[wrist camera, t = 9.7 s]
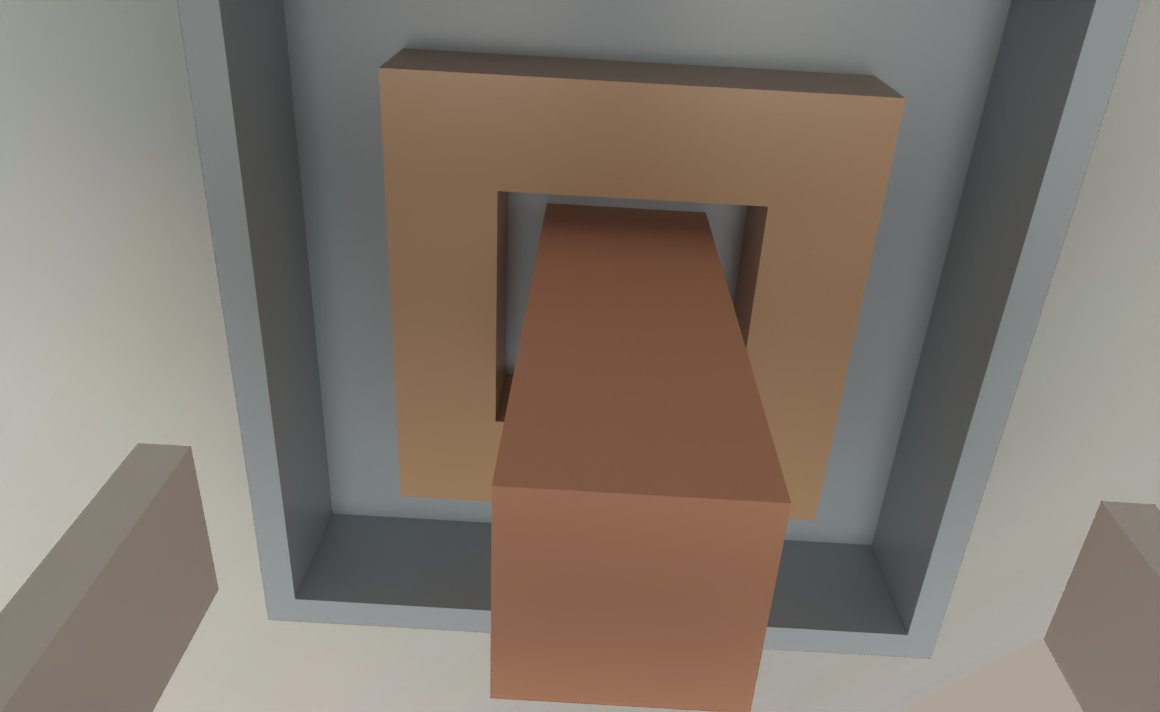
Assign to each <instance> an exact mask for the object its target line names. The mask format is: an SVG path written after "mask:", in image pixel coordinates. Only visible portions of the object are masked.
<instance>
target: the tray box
mask: <svg viewBox="0 0 1160 712" xmlns="http://www.w3.org/2000/svg"><path fill="white" fill-rule="evenodd" d="M177 2H178V9H179V16H180V23H181V30H182V36H183V43H184V50H185V57H186V63H187V70H188V77H189V84H190V91H191V97H192V104H193V111H194V118H195V125H196V131H197V138H198V145H199V152H200V159H201V165H202V172H203V179H204V186H205V193H206V199H207V206H208V213H209V220H210V227H211V233H212V240H213V247H214V254H215V261H216V267H217V274H218V281H219V288H220V295H221V301H222V308H223V315H224V322H225V328H226V335H227V342H228V349H229V356H230V362H231V369H232V376H233V383H234V390H235V396H236V403H237V410H238V417H239V424H240V430H241V437H242V444H243V451H244V458H245V464H246V471H247V478H248V485H249V492H250V498H251V505H252V512H253V519H254V526H255V532H256V539H257V546H258V553H259V560H260V566H261V573H262V580H263V587H264V593H265V600H266V607H267V614H268V620H280V621H297V622H314V623H331V624H348V625H365V626H382V627H399V628H416V629H433V630H450V631H467V632H484V633H491V522H492V482H493V477H494V472H495V467H496V461H497V456H498V451H499V446H500V441H501V436H502V431H503V425H504V420H505V415H506V410H507V405H508V400H509V395H510V389H511V384H512V379H513V374H514V369H515V364H516V359H517V353H518V348H519V343H520V338H521V333H522V328H523V323H524V318H525V312H526V307H527V302H528V297H529V292H530V287H531V282H532V276H533V271H534V266H535V261H536V256H537V251H538V246H539V240H540V235H541V230H542V225H543V220H544V215H545V210H546V204H547V203H553V204H570V205H588V206H605V207H622V208H639V209H657V210H674V211H691V212H706V215H707V218H708V221H709V225H710V228H711V232H712V235H713V238H714V242H715V245H716V249H717V252H718V255H719V259H720V262H721V266H722V269H723V272H724V276H725V279H726V283H727V286H728V289H729V293H730V296H731V300H732V303H733V306H734V310H735V313H736V317H737V320H738V323H739V327H740V330H741V334H742V337H743V340H744V344H745V347H746V351H747V354H748V357H749V361H750V364H751V368H752V371H753V374H754V378H755V381H756V385H757V388H758V391H759V395H760V398H761V402H762V405H763V408H764V412H765V415H766V419H767V422H768V425H769V429H770V432H771V436H772V439H773V442H774V446H775V449H776V453H777V456H778V459H779V463H780V466H781V470H782V473H783V476H784V480H785V483H786V487H787V490H788V493H789V497H790V500H791V508H790V513H789V518H788V523H787V528H786V533H785V538H784V543H783V549H782V554H781V559H780V564H779V569H778V574H777V579H776V584H775V589H774V594H773V599H772V604H771V609H770V614H769V619H768V624H767V629H766V635H765V640H764V645H763V649H773V650H790V651H807V652H824V653H841V654H858V655H875V656H892V657H909V658H926V659H931V656H932V653H933V650H934V647H935V644H936V641H937V637H938V634H939V631H940V628H941V625H942V622H943V619H944V615H945V612H946V609H947V606H948V603H949V600H950V597H951V593H952V590H953V587H954V584H955V581H956V578H957V575H958V571H959V568H960V565H961V562H962V559H963V556H964V553H965V549H966V546H967V543H968V540H969V537H970V534H971V531H972V527H973V524H974V521H975V518H976V515H977V512H978V509H979V505H980V502H981V499H982V496H983V493H984V490H985V487H986V483H987V480H988V477H989V474H990V471H991V468H992V465H993V462H994V458H995V455H996V452H997V449H998V446H999V443H1000V440H1001V436H1002V433H1003V430H1004V427H1005V424H1006V421H1007V418H1008V414H1009V411H1010V408H1011V405H1012V402H1013V399H1014V396H1015V392H1016V389H1017V386H1018V383H1019V380H1020V377H1021V374H1022V370H1023V367H1024V364H1025V361H1026V358H1027V355H1028V352H1029V348H1030V345H1031V342H1032V339H1033V336H1034V333H1035V330H1036V326H1037V323H1038V320H1039V317H1040V314H1041V311H1042V308H1043V304H1044V301H1045V298H1046V295H1047V292H1048V289H1049V286H1050V282H1051V279H1052V276H1053V273H1054V270H1055V267H1056V264H1057V260H1058V257H1059V254H1060V251H1061V248H1062V245H1063V242H1064V238H1065V235H1066V232H1067V229H1068V226H1069V223H1070V220H1071V216H1072V213H1073V210H1074V207H1075V204H1076V201H1077V198H1078V194H1079V191H1080V188H1081V185H1082V182H1083V179H1084V176H1085V173H1086V169H1087V166H1088V163H1089V160H1090V157H1091V154H1092V151H1093V147H1094V144H1095V141H1096V138H1097V135H1098V132H1099V129H1100V125H1101V122H1102V119H1103V116H1104V113H1105V110H1106V107H1107V103H1108V100H1109V97H1110V94H1111V91H1112V88H1113V85H1114V81H1115V78H1116V75H1117V72H1118V69H1119V66H1120V63H1121V59H1122V56H1123V53H1124V50H1125V47H1126V44H1127V41H1128V37H1129V34H1130V31H1131V28H1132V25H1133V22H1134V19H1135V15H1136V12H1137V9H1138V6H1139V3H1140V0H177Z"/></svg>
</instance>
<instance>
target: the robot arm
mask: <svg viewBox="0 0 1160 712" xmlns="http://www.w3.org/2000/svg"><path fill="white" fill-rule="evenodd" d="M217 591H218V584H217V579H216V574H215V569H214V563H213V558H212V553H211V548H210V543H209V538H208V532H207V527H206V522H205V517H204V512H203V507H202V501H201V496H200V491H199V486H198V481H197V475H196V470H195V465H194V460H193V455H192V450H191V446H176V445H160V444H143V443H138V444H137V445H136V446H135V447H134V449H133V450H132V451H131V452H130V454H129V455H128V456H127V457H126V459H125V460H124V461H123V462H122V464H121V465H120V466H119V467H118V468H117V470H116V471H115V472H114V473H113V475H112V476H111V477H110V478H109V480H108V481H107V482H106V483H105V484H104V486H103V487H102V488H101V489H100V491H99V492H98V493H97V494H96V496H95V497H94V498H93V499H92V500H91V502H90V503H89V504H88V505H87V507H86V508H85V509H84V510H83V512H82V513H81V514H80V515H79V517H78V518H77V519H76V520H75V521H74V523H73V524H72V525H71V526H70V528H69V529H68V530H67V531H66V533H65V534H64V535H63V536H62V537H61V539H60V540H59V541H58V542H57V544H56V545H55V546H54V547H53V549H52V550H51V551H50V552H49V553H48V555H47V556H46V557H45V558H44V560H43V561H42V562H41V563H40V565H39V566H38V567H37V568H36V570H35V571H34V572H33V573H32V574H31V576H30V577H29V578H28V579H27V581H26V582H25V583H24V584H23V586H22V587H21V588H20V589H19V590H18V592H17V593H16V594H15V595H14V597H13V598H12V599H11V600H10V602H9V603H8V604H7V605H6V607H5V608H4V609H3V610H2V611H1V613H0V712H153V710H154V708H155V706H156V704H157V702H158V700H159V699H160V697H161V695H162V693H163V691H164V689H165V687H166V686H167V684H168V682H169V680H170V678H171V676H172V674H173V673H174V671H175V669H176V667H177V665H178V663H179V662H180V660H181V658H182V656H183V654H184V652H185V650H186V649H187V647H188V645H189V643H190V641H191V639H192V637H193V636H194V634H195V632H196V630H197V628H198V626H199V624H200V623H201V621H202V619H203V617H204V615H205V613H206V611H207V610H208V608H209V606H210V604H211V602H212V600H213V598H214V597H215V595H216V593H217ZM1044 641H1045V643H1046V644H1047V646H1048V648H1049V650H1050V651H1051V653H1052V655H1053V657H1054V658H1055V661H1056V663H1057V664H1058V666H1059V668H1060V670H1061V672H1062V673H1063V675H1064V677H1065V679H1066V681H1067V683H1068V684H1069V686H1070V688H1071V690H1072V692H1073V693H1074V695H1075V697H1076V699H1077V701H1078V703H1079V704H1080V706H1081V708H1082V710H1083V712H1160V510H1159V509H1158V508H1157V507H1156V505H1155V504H1138V503H1122V502H1105V501H1101V503H1100V506H1099V508H1098V511H1097V513H1096V515H1095V518H1094V520H1093V523H1092V525H1091V527H1090V530H1089V532H1088V535H1087V537H1086V539H1085V542H1084V544H1083V547H1082V549H1081V551H1080V554H1079V556H1078V559H1077V561H1076V563H1075V566H1074V568H1073V571H1072V573H1071V576H1070V578H1069V580H1068V583H1067V585H1066V588H1065V590H1064V592H1063V595H1062V597H1061V600H1060V602H1059V604H1058V607H1057V609H1056V612H1055V614H1054V616H1053V619H1052V621H1051V624H1050V626H1049V628H1048V631H1047V633H1046V636H1045V638H1044Z"/></svg>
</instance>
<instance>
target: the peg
mask: <svg viewBox="0 0 1160 712" xmlns="http://www.w3.org/2000/svg"><path fill="white" fill-rule="evenodd" d="M790 508H791V500H790V497H789V493H788V490H787V487H786V483H785V480H784V476H783V473H782V470H781V466H780V463H779V459H778V456H777V453H776V449H775V446H774V442H773V439H772V436H771V432H770V429H769V425H768V422H767V419H766V415H765V412H764V408H763V405H762V402H761V398H760V395H759V391H758V388H757V385H756V381H755V378H754V374H753V371H752V368H751V364H750V361H749V357H748V354H747V351H746V347H745V344H744V340H743V337H742V334H741V330H740V327H739V323H738V320H737V317H736V313H735V310H734V306H733V303H732V300H731V296H730V293H729V289H728V286H727V283H726V279H725V276H724V272H723V269H722V266H721V262H720V259H719V255H718V252H717V249H716V245H715V242H714V238H713V235H712V232H711V228H710V225H709V221H708V218H707V215H706V212H691V211H674V210H657V209H639V208H622V207H605V206H588V205H570V204H553V203H547V204H546V210H545V215H544V220H543V225H542V230H541V235H540V240H539V246H538V251H537V256H536V261H535V266H534V271H533V276H532V282H531V287H530V292H529V297H528V302H527V307H526V312H525V318H524V323H523V328H522V333H521V338H520V343H519V348H518V353H517V359H516V364H515V369H514V374H513V379H512V384H511V389H510V395H509V400H508V405H507V410H506V415H505V420H504V425H503V431H502V436H501V441H500V446H499V451H498V456H497V461H496V467H495V472H494V477H493V482H492V522H491V685H490V698H496V699H513V700H530V701H547V702H564V703H581V704H598V705H615V706H632V707H649V708H666V709H683V710H700V711H717V712H750V710H751V705H752V700H753V695H754V690H755V685H756V680H757V675H758V670H759V665H760V660H761V655H762V650H763V645H764V640H765V635H766V629H767V624H768V619H769V614H770V609H771V604H772V599H773V594H774V589H775V584H776V579H777V574H778V569H779V564H780V559H781V554H782V549H783V543H784V538H785V533H786V528H787V523H788V518H789V513H790Z"/></svg>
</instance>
